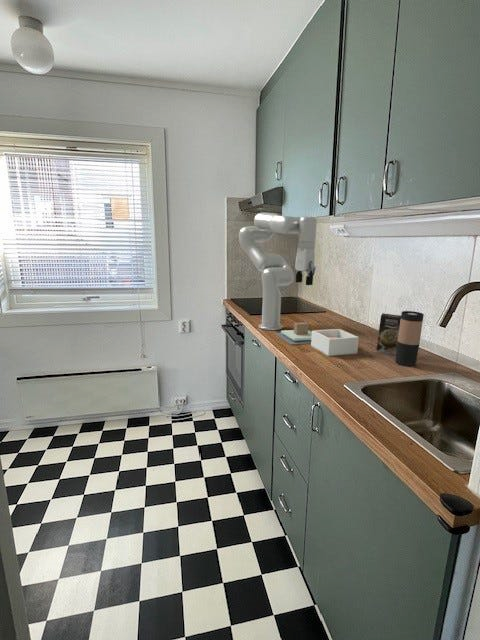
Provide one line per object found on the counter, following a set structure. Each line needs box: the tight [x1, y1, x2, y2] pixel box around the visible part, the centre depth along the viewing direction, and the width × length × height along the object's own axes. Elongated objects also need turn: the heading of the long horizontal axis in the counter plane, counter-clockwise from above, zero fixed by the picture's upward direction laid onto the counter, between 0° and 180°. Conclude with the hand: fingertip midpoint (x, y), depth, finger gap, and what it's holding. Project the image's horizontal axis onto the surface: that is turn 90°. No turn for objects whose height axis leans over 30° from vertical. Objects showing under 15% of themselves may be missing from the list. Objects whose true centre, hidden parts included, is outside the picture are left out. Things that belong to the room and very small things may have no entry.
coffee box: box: [375, 312, 401, 356], centre depth 144 cm, size 9×6×16 cm
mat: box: [274, 332, 311, 346], centre depth 164 cm, size 18×18×1 cm
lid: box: [280, 321, 312, 341], centre depth 163 cm, size 14×14×7 cm
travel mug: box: [395, 310, 425, 367], centre depth 131 cm, size 8×8×20 cm
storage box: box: [310, 328, 360, 357], centre depth 147 cm, size 14×14×7 cm
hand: (303, 283), depth 158 cm, fingers open, 9 cm apart
